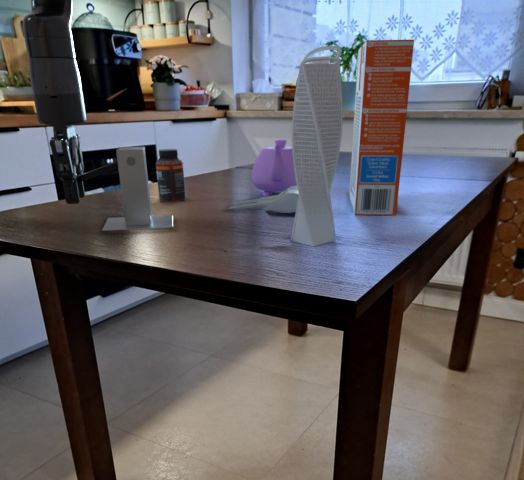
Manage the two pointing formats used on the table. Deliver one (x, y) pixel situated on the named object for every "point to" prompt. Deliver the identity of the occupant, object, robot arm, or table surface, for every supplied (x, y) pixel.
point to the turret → (272, 202)
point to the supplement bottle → (170, 176)
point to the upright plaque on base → (135, 194)
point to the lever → (97, 172)
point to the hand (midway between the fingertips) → (75, 200)
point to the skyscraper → (316, 145)
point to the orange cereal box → (379, 125)
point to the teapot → (274, 169)
